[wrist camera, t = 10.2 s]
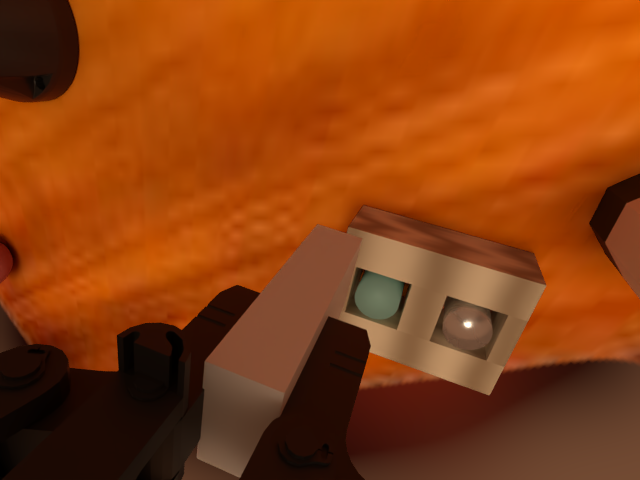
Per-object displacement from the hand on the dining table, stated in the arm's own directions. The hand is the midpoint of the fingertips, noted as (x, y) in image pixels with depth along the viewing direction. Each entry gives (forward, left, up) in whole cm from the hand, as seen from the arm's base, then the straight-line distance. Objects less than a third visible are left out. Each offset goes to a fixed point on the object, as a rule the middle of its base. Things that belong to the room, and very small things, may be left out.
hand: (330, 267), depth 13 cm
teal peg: (+1, -13, -25) cm, 28 cm away
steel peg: (+9, -13, -25) cm, 30 cm away
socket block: (+5, -13, -26) cm, 29 cm away
